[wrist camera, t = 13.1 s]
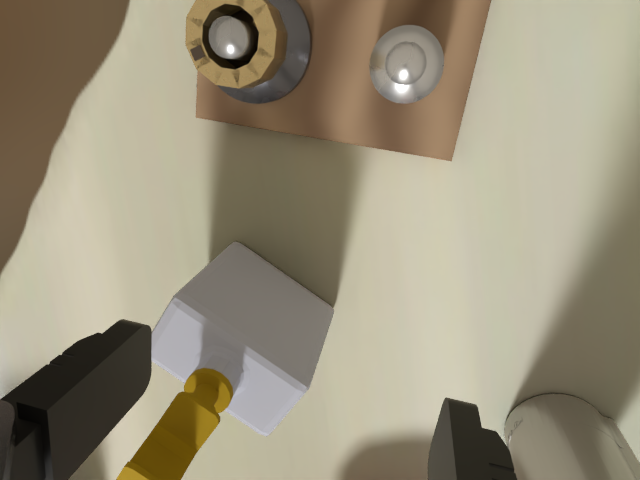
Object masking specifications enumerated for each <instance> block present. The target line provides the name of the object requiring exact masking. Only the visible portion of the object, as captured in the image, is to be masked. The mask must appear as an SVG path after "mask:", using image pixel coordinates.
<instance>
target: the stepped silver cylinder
mask: <svg viewBox="0 0 640 480" xmlns="http://www.w3.org/2000/svg"><path fill="white" fill-rule="evenodd" d="M443 69H444V54H443V50H442V47H441V45H440V43H439V41H438V40H437V38H436V37H435V36H434V35H433V34H432V33H431V32H430V31H428V30H427V29H425V28H423V27H420V26H416V25H402V26H398V27H396V28H393V29H391V30H390V31H388V32H387V33H385V34H384V35H383V36H382V37H381V38H380V39H379V40H378V42H377V43H376V45H375V47H374V49H373V51H372V54H371V57H370V64H369V71H370V76H371V80H372V82H373V85H374V86H375V88H376V89H377V91H378V92H379V93H380V94H381V95H382V96H383V97H385V98H386V99H388V100H390V101H392V102H395V103H402V104H407V103H413V102H416V101H419V100H421V99H423V98H424V97H426V96H427V95H429V94H430V93H431V92H432V91H433V90H434V89H435V87H436V86H437V84H438V83H439V81H440V79H441V76H442V73H443Z"/></svg>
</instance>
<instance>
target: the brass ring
mask: <svg viewBox="0 0 640 480" xmlns="http://www.w3.org/2000/svg"><path fill="white" fill-rule="evenodd" d="M240 10H243V11H247V12H248V13H249V14H250V15H251V16H253V19H254V22H255V24H256V27H257V29H258V32H259V38H258V50H257V52H256V53H255V55H254V56H253V58H252V59H251V61H250V62H249V64H247V65H244V66H242V67H240V68H238V69H236V68H235V67H234V66H233V65H231V64H230V63H229V62H228V61H227V60H225V58H223V57H220V56H219V55H217V54H216V53H215V52H214V51H213V49H212V48H211V46H210V43H209V29H210V27H211V25H212V23H213V22H214V21H215V20H216V19H217V18H219V17H222V16H230V15H232V14H234V13H236V12H238V11H240ZM287 40H288V33H287V30H286V28H285V25H284V22H283V20H282V17H281V14H280V12H279V10H278V9H277V8H276V7H275V6H273V5H272V4H271V3H270V2H269V1H268V0H196V1H195V3H194V4H193V6H192V8H191V10H190V12H189V13H188V15H187V17H186V46H187V49H188V51H189V53H190V56H191V58H192V60H193V62H194V65H195V67H196V69H197V70H198V71H199V72H201V73H202V74H203V75H204V76H205V77H207V78H208V79H209V80H210V81H212V82H213V83H214V84H215V85H220V86H226V87H232V88H253V87H256V86H258V85H260V84H262V83H264V82H267V81H269V80H271V79H273V77H274V76H275V74H276V73H277V71H278V70H279V68H280V67H281V65H282V64H283V62H284V61H285V59H286V49H287Z"/></svg>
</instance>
